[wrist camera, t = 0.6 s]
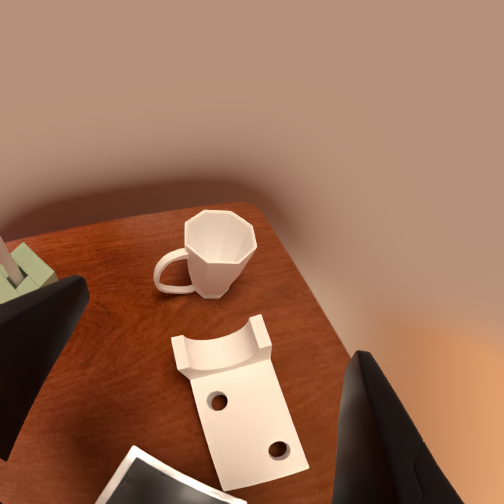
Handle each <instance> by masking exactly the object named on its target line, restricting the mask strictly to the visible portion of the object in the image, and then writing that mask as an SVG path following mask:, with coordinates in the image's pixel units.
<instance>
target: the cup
mask: <svg viewBox="0 0 504 504" xmlns="http://www.w3.org/2000/svg"><path fill="white" fill-rule="evenodd" d="M256 248H257V244H256V239H255V235H254V230H253V226H252V225H251V224H249V223H248V222H246V221H245V220H243V219H242V218H241V217H239V216H238V215H236V214H235V213H233V212H232V211H219V210H203V211H202V212H200V213H199V214H197V215H196V216H194V217H193V218H191V219H190V220H188V221H187V222H185V248H183V249H178V250H176V251H173V252H170V253H168V254H167V255H165V256H164V257H163V258H162V259H161V260H160V261H159V262H158V263H157V264H156V267H155V271H154V277H153V280H154V282H155V285H156V287H157V288H158V289H159V291H162V292H165V293H173V294H186V293H192V292H195V291H196V292H197V293H198V294H199V295H200V296H202V297H203V298H204V299H219V298H221V297H222V296H223V295H224V294H225V293H226V292H227V291H228V290H229V286H230V285H231V284H232V283H233V282H234V281H235V279H236V278H237V277H238V276H239V275H240V273H241V272H242V270H243V269H244V267H245V265H246V264H247V262H248V261H249V259H250V258H251V256H252V255H253V253H254V251H255V250H256ZM181 259H187V263H188V270H189V275H190V278H191V281H192V285H189V286H181V287H178V286H168V285H163V284H160V283H159V278H160V275H161V272H162V271H163V270H164V268H165V267H166V266H167V265H168V264H169V263H171V262H173V261H176V260H181Z"/></svg>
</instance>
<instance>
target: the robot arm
mask: <svg viewBox="0 0 504 504" xmlns="http://www.w3.org/2000/svg"><path fill="white" fill-rule="evenodd" d="M89 298H90V296H89V291H88V287H87V283H86V280H85V278H84V277H81V276H79V275H72V276H69V277H67V278H64V279H61V280H59V281H56V282H54V283H51V284H49V285H46V286H43V287H41V288H38V289H36V290H34V291H31V292H29V293H26V294H24V295H21V296H19V297H16V298H14V299H12V300H9V301H7V302H4V303H2V304H0V458H1V459H3V460H4V461H7V460H8V458H9V455H10V453H11V451H12V448H13V446H14V443H15V441H16V439H17V436H18V434H19V432H20V430H21V428H22V425H23V423H24V421H25V419H26V417H27V414H28V412H29V410H30V408H31V406H32V404H33V402H34V400H35V398H36V397H37V395H38V393H39V391H40V389H41V387H42V385H43V383H44V381H45V380H46V378H47V376H48V374H49V372H50V371H51V369H52V367H53V365H54V364H55V362H56V360H57V359H58V357H59V355H60V353H61V352H62V350H63V348H64V347H65V345H66V344H67V342H68V340H69V339H70V337H71V335H72V333H73V331H74V329H75V327H76V325H77V323H78V321H79V319H80V318H81V316H82V314H83V312H84V310H85V308H86V306H87V304H88V302H89ZM0 504H2V503H1V502H0ZM332 504H464V502H463V501H462V500H461V498H460V497H459V495H458V494H457V493H456V491H455V490H454V488H453V487H452V485H451V484H450V482H449V481H448V479H447V478H446V477H445V475H444V474H443V472H442V471H441V469H440V467H439V466H438V465H437V463H436V461H435V459H434V458H433V456H432V454H431V453H430V451H429V449H428V448H427V446H426V444H425V442H423V439H422V437H421V435H420V434H419V432H418V430H417V428H416V427H415V425H414V423H413V421H412V420H411V418H410V416H409V415H408V413H407V411H406V410H405V408H404V406H403V405H402V403H401V401H400V400H399V398H398V397H397V395H396V393H395V391H394V390H393V388H392V386H391V385H390V383H389V382H388V380H387V378H386V377H385V375H384V374H383V372H382V370H381V369H380V367H379V366H378V364H377V362H376V361H375V359H374V358H373V356H372V354H371V353H370V352H367V351H360V350H358V351H356V352H355V353H354V355H353V357H352V358H351V360H350V362H349V363H348V365H347V367H346V370H345V374H344V382H343V390H342V397H341V404H340V411H339V421H338V440H337V456H336V469H335V480H334V490H333V499H332Z"/></svg>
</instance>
